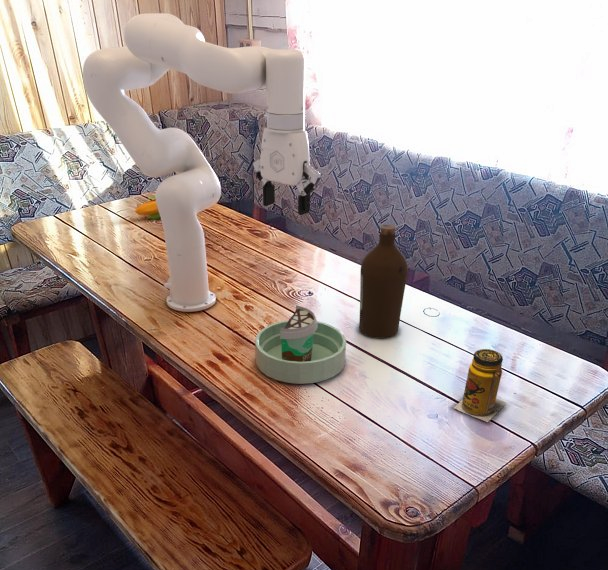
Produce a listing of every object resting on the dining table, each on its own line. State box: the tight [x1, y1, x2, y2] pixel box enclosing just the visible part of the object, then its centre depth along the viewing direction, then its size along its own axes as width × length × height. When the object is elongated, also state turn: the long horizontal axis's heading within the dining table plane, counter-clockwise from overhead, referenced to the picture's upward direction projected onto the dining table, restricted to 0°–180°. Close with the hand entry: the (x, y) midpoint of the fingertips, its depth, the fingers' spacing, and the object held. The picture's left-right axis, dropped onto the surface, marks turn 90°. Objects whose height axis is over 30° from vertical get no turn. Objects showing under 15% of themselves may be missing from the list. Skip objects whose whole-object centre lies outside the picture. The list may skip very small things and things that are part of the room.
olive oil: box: [358, 224, 409, 339], centre depth 136 cm, size 11×11×25 cm
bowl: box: [254, 319, 347, 385], centre depth 128 cm, size 19×19×6 cm
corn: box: [134, 195, 161, 220], centre depth 211 cm, size 7×8×20 cm
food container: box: [280, 305, 318, 362], centre depth 126 cm, size 12×6×10 cm, turn 165°
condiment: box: [453, 348, 507, 423], centre depth 113 cm, size 7×8×12 cm
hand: (286, 209), depth 127 cm, fingers open, 9 cm apart
